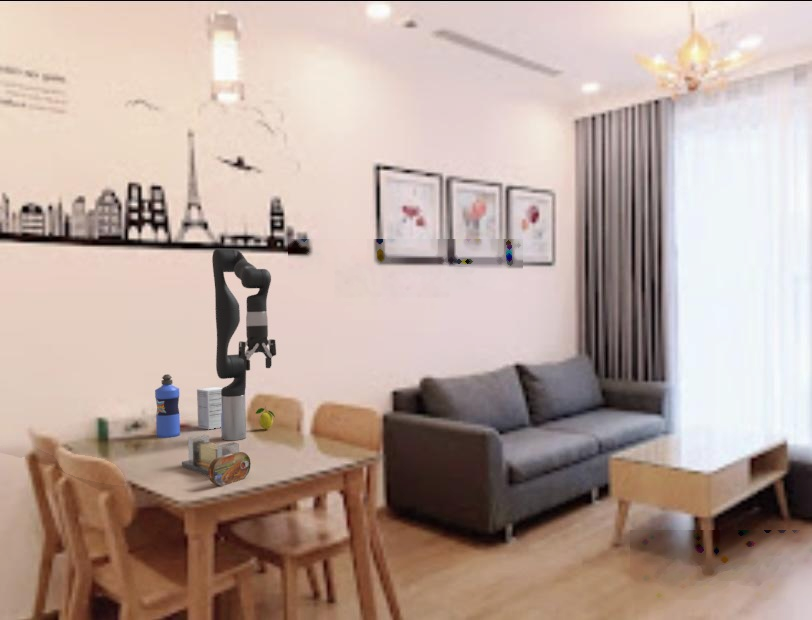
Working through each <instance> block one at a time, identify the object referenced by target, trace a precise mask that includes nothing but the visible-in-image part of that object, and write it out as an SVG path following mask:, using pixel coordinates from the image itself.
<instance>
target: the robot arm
mask: <svg viewBox="0 0 812 620" xmlns="http://www.w3.org/2000/svg"><path fill="white" fill-rule="evenodd" d="M211 262H212V272H213V281H214V290H215V291H214V293H215V295H214V297H215V299H214V300H215V301H214V302H215V325H216V355H215V356H216V359H215V360H216V362H215V365H216V366H215V367H216V374H217V376H218V378H219V379H221V380H224V379H225V380H226V379H233V381H232V382H231V383H229V384H228V385H226V386H224V387H221V388H222V390H221V403H222V414H221V428H220V429H221V431H220V432H221V438H222V440H223V439H224V441H239V440H244V439H246V438H247V419H246V418H247V417H246V413H247V411H246V388H247V387H246V386H247V385H246V383H247V371H250V370H251V360H250V359H251V357H252V356H253V355H254V354H258V353H262V354H263V355H264V357H265V368H266V369H271V367H272V358H273V357H275V356H277V343H276V339H272V338H271V339H269V338H268V336H269V329H268V328H269V326H268V325H269V324H268V323H269V322H268V319H269V318H268V313H267V311H268V310H267V306H268V305H267V299H268V294H269V289H270V286H271V283H272V282H271V281H272V274H271V273H270V271H269V270H268V269H265V268H257V267H256V266H255V265H254V264H251V263H250V262H248V260H247V259H246V258H245V256H244V255H243V253H242V252H241V251H240V250H238V249H235V248H216V249H214V250H213V253H212V260H211ZM224 273H233V274H234V275H235V277H237V279H239V280H240V282H241V285H242V287H243V288H245V289H258V292H257V293H256V294H251V295H248V296H247V298H246V316H245V317H246V319H245V321H246V322H245V323H246V325H245V326H246V327H245V328H246V334H245V335H246V341H238V353H237V354H228V350H229V345H230V341H231V339H232V338H233V336H234V334H235V333H236V330H238V329H237V328H238V327H239V324H240V322H241V314H240V311H241V310H240V303H239V302H238V299H237V298H236V296H235V295H234V294H233V292H232V291H231V290H230V288H229V286H228V285H227V281H226V278H225V274H224ZM268 346H269V347H268Z"/></svg>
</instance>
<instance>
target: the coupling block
mask: <svg viewBox="0 0 812 620" xmlns="http://www.w3.org/2000/svg"><path fill="white" fill-rule="evenodd" d="M218 445H219V444H218V443H214V442H211V441H209V442H207V443H201V444H199V462H200V463H203V464H206V465H209V466H210V464H211V462H212V461H213V460H214V459H216V458H217V446H218Z"/></svg>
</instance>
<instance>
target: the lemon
mask: <svg viewBox="0 0 812 620" xmlns="http://www.w3.org/2000/svg"><path fill="white" fill-rule="evenodd" d="M262 412H263V413H262ZM260 413H261V414H260ZM254 414H256V415H257V414H260V417H259V426H260V427H261V428H263V429H265V431H267V430H268V429H269V428H271V427H272V426H273V423H274V418H276V416H275V414H274V412H272V411H271V410H265V407H264V408H263V407H260V408H258V409H257V410H256V411H255V413H254ZM273 417H274V418H273Z"/></svg>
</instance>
